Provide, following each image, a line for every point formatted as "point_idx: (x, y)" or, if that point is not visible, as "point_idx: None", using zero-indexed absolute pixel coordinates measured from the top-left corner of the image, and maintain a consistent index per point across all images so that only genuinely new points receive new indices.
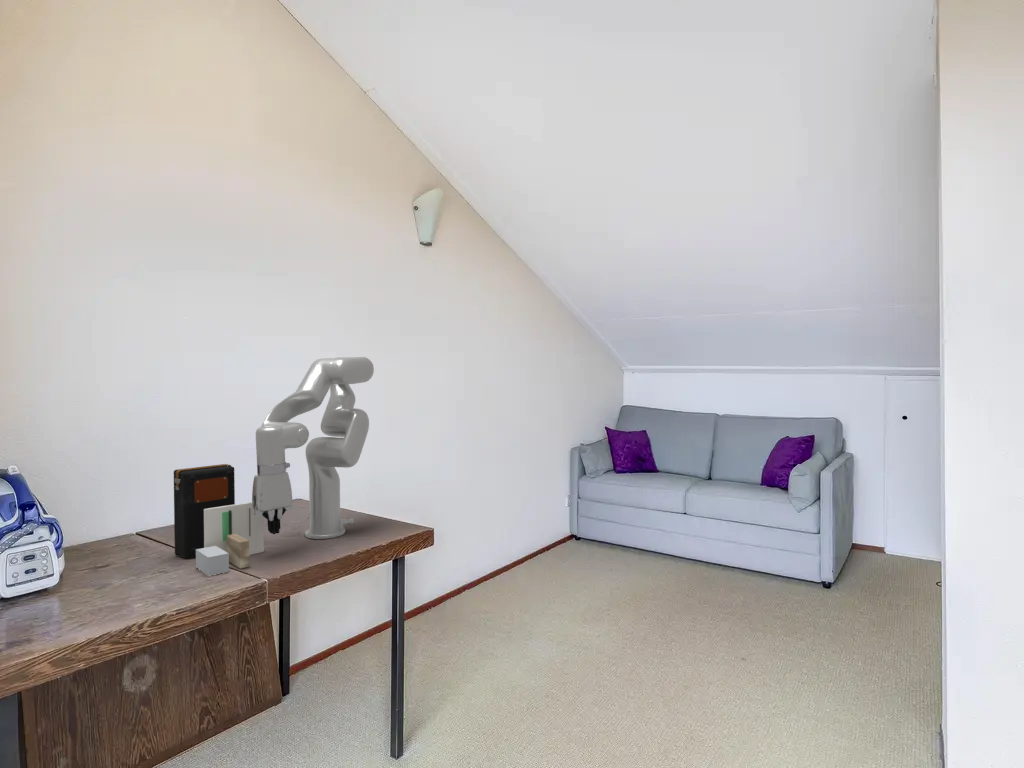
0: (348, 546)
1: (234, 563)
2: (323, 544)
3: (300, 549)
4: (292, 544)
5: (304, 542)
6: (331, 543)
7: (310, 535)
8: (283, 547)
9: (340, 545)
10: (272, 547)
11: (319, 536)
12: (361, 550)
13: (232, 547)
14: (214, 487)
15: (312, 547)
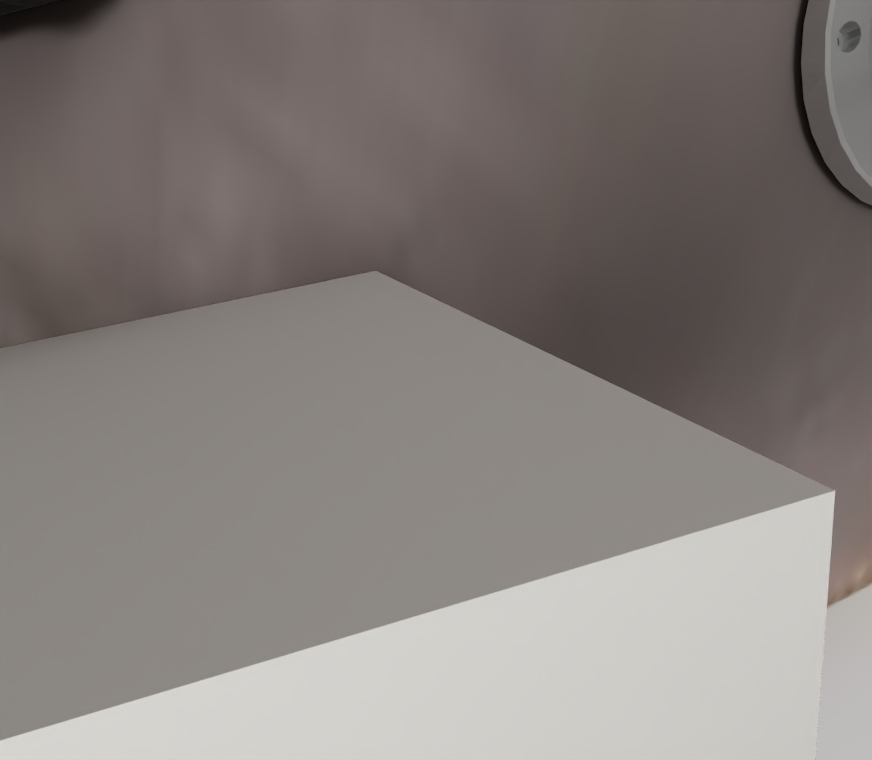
0: (864, 475)
1: None
2: (790, 343)
3: (627, 385)
4: (631, 200)
5: (722, 197)
6: (836, 348)
7: (830, 105)
8: (547, 252)
9: (847, 429)
10: (472, 193)
11: (863, 181)
12: (863, 583)
13: None
14: None
15: (706, 379)
